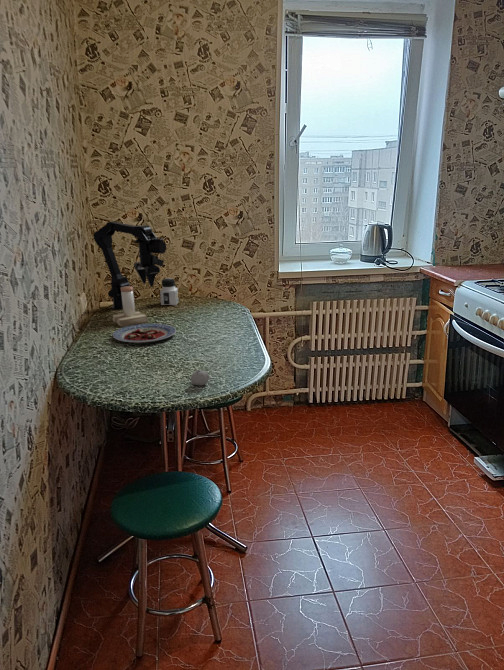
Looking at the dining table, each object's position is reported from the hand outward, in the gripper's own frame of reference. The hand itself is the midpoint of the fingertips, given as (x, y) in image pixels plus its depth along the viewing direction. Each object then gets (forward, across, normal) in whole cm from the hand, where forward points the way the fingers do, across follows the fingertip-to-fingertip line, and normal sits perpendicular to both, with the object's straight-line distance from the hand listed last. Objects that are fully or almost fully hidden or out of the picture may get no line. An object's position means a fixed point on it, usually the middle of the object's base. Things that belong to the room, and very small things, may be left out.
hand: (148, 285), depth 260 cm
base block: (+13, -13, +15) cm, 24 cm away
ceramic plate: (+14, -39, +18) cm, 45 cm away
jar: (+10, -13, +15) cm, 22 cm away
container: (+13, +8, -14) cm, 21 cm away
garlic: (+13, -99, +23) cm, 102 cm away
